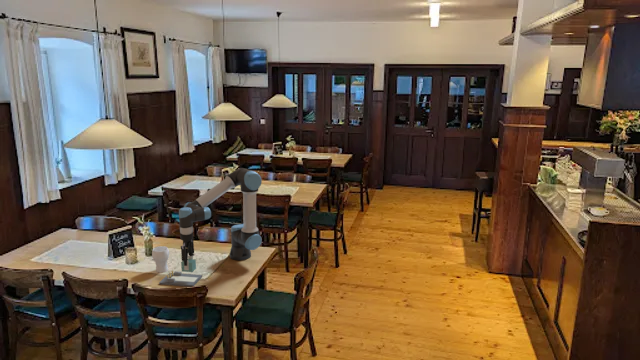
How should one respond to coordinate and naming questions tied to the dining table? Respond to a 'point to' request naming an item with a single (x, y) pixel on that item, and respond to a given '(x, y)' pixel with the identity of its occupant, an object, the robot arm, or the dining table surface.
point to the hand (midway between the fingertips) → (188, 267)
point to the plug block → (191, 265)
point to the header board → (180, 279)
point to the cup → (161, 258)
